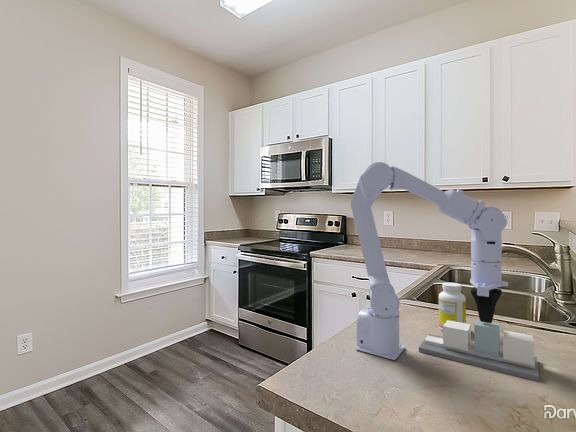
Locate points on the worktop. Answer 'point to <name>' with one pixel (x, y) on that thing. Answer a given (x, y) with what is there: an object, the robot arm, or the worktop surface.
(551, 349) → the worktop surface
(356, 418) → the worktop surface
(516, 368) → the board
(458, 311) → the supplement bottle
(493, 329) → the block
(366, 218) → the robot arm
